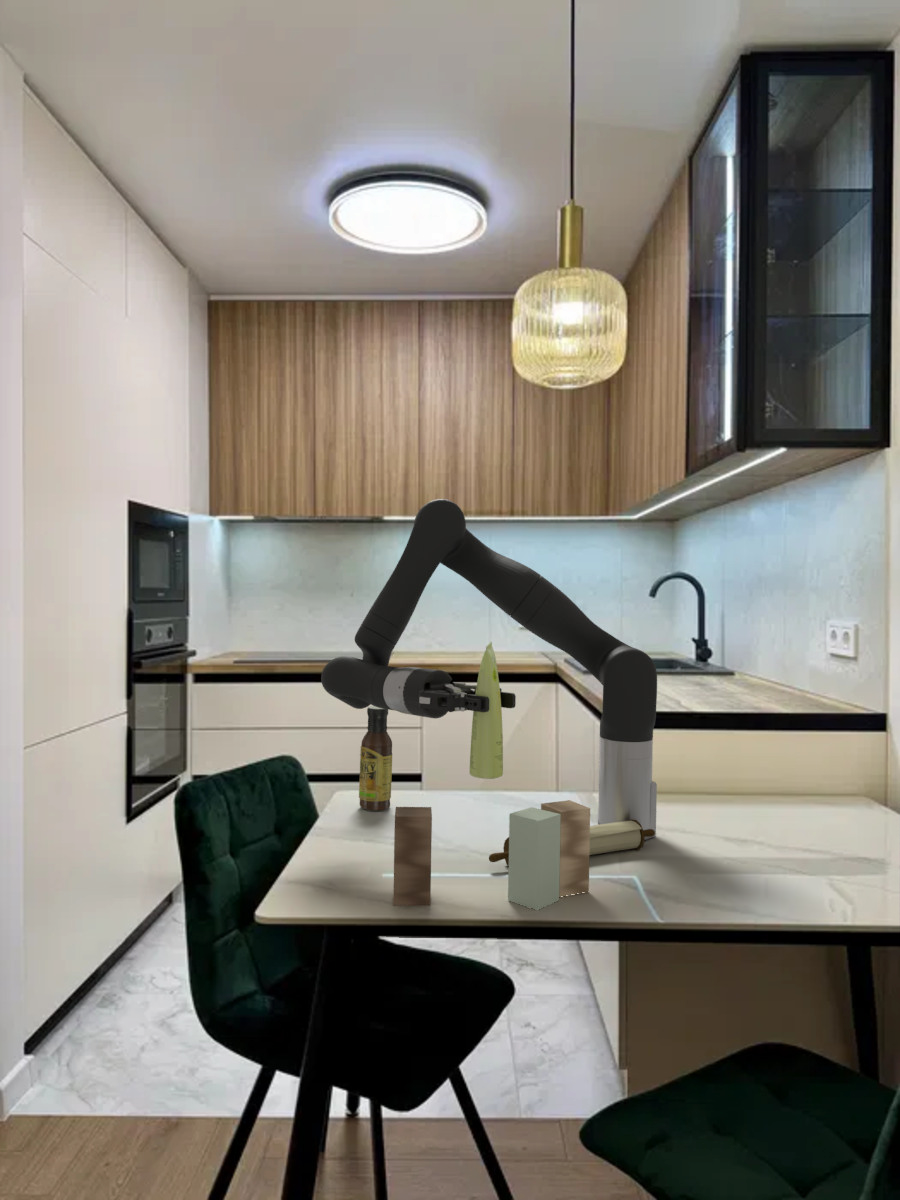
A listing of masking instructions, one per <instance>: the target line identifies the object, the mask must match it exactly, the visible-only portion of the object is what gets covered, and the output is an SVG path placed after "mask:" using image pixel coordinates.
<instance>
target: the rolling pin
mask: <svg viewBox="0 0 900 1200" xmlns="http://www.w3.org/2000/svg"><path fill="white" fill-rule="evenodd" d="M654 835H655V831H654V830H653V829H647V830H643V828H642V826H641V824H640V823H639V822H638V821H637V820H629V821H623V822H615V823H608V824H600V825H598V824H594V825H590V850H589V856H594V855H598V854H604V853H605V854H606V853H611V852H617V851H624V850H630V849H634V850H636V851H638V850H641V849H642V848H643V847H644V843H645V841H646V840H645V838H644V837H651V838H653V837H652V836H654ZM502 850H503V852H494V853H490V854H489V857H488V860H489V862H490V863H496V862H500V861H502V860H505V864H506V866H507V867H508V866H509V836H508V837H507V838H506V839H505V840H504V843H503V849H502Z"/></svg>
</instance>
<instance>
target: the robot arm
mask: <svg viewBox="0 0 900 1200" xmlns="http://www.w3.org/2000/svg"><path fill="white" fill-rule="evenodd" d="M466 523H467V522H466V518H465V514H464V512H463V510H462V509H461V507H460V506H459V505H458V504H457V503H455V502H454V501H451V500H449V499H445V498H437V499H432V500H430V501H428V502H427V503H425V504H424V505H422V507H421V508H419V510H418V512H417V514H416V515H415V518H414V522H413V527H412V529H411V532H410V536H409V538H408V541H407V543H406V545H405V548H404V550H403V552H402V554H401V556H400V558H399V560H398V561H397V562H398V563H396V566H395V567H394V570H393V571H392V573H391V574H390V576H389V578H388V580H387V581H386V583H385V585H383V587H382V589H381V590H380V592H379V594H378V596H377V598H376V599H375V600H374V602H373V604H372V605H371V606H370V608H369V610H368V612H367V614H366V616H365V617H364V619H363V621H362V622H361V624H360V626H359V628H358V629H357V631H356V633H355V636H354V642H355V645H356V646H357V647H358V648H359V649H360V650H361V652H362V659H361V658H357V657H353V656H347V655H344V656H343V655H342V656H337V657H335V658H333V659H332V660H330V661H328V662H327V663H326V665H325V666H324V667H323V669H322V671H321V677H320V681H321V686H322V688H323V689H324V691H325V692H327V693H328V694H329V695H330V696H332V697H334V698H336V699H337V700H339V701H341V702H343V703H344V704H345V705H348V706H350V707H351V708H353V709H356V710H362V709H366V708H368V707H369V706H376V707H378V708H383V709H388V711H389V710H390V711H395V712H398V713H401V714H404V715H410V716H411V715H412V716H416V717H417V716H418V717H422V718H423V717H424V718H428V719H434V720H435V719H440V718H442V717H444V716H446V715H447V714H448V713H454V712H465V711H472V712H473V711H477V712H488V711H489V698H488V697H487V696H479V695H475V694H476V687H477V684H467V683H465V682H454V681H453V678H452V677H451V675H449V673H447V672H446V671H444V670H442V669H440V670H439V669H434V668H433V669H431V668H423V667H412V666H406V667H405V666H404V667H398V666H389V663H390V660H391V654H392V652H393V651H394V649H395V647H396V646H397V643H398V642H399V640H400V639H401V636H402V635H403V634H404V631H405V630H406V628H407V626H408V624H409V622H410V620H411V618H412V616H413V614H414V611H415V610H416V608H417V606H418V604H419V601H420V599H421V596H422V595H423V593H424V590H425V589H426V587H427V584H428V583H429V581H430V579H431V577H432V576H433V574H434V573H435V571H436V570H437V568H438V566H439V565H440V564H441V565H443V566H445V567H446V568H448V569H450V570H451V571H453V572H454V573H456V574H457V575H459V576H460V577H461V578H463V579H465V580H466V581H468V582H469V583H470V584H471V585H472V586H474V588H475V589H477V591H479V592H480V593H481V594H482V595H483V596H485V597H486V598H487V599H489V600H490V601H491V602H492V603H493V604H495V605H496V606H497V607H498V608H499V609H500V610H502V611H503V612H504V614H506V615H507V616H509V617H510V618H511V619H513V620H514V621H515V622H517V623H518V624H519V625H521V626H522V627H523V628H525V629H526V630H527V631H529V632H530V633H532V634H534V635H535V636H537V637H538V638H540V639H541V640H543V641H545V642H547V643H548V644H550V645H551V646H554V647H555V648H557V649H558V650H560V651H563V652H564V653H566V654H567V655H569V656H570V657H571V658H573V659H574V660H575V661H576V662H578V663H579V664H580V666H583V668H585V669H586V670H587V672H589V673H590V675H592V676H593V677H594V678H595V679H596V680H597V681H598V682H599V683H600V684H601V685H602V710H601V718H600V722H599V745H598V746H599V753H598V755H599V756H598V757H599V758H598V759H599V762H598V763H599V765H598V766H599V767H598V804H597V805H598V806H597V807H598V808H597V812H598V813H597V814H598V815H597V817H598V818H597V825H600V824H608V823H615V822H623V821H629V820H637V821H638V822H639V823H640V824H641V826H642V828H643V830H647V829H653V830H654V831H655V835H654V836H652V837H644V838H645V840H644V841H647V840H649V839H651V838H656V836H657V805H658V804H657V802H658V800H657V799H658V797H657V796H658V790H657V789H658V786H657V785H658V783H656V781H653V755H654V754H653V750H654V749H653V748H654V747H653V745H654V740H653V739H654V729H655V728H654V727H655V725H656V720H657V702H658V701H657V699H658V698H657V697H658V672H657V666H656V664H655V662H654V661H653V659H652V658H651V656H650V655H648V654H647V653H646V652H644V651H643V650H641V649H638V648H636V647H633V646H631V645H628V644H627V643H625V642H624V641H621V640H620V639H619V638H616V637H615V636H613V635H612V634H610V633H609V632H608V631H606V630H604V629H602V628H601V627H600V626H598V625H597V624H596V623H594V622H593V621H592V620H591V619H590V618H589V617H588V616H587V615H586V614H585V613H584V612H583V610H581V608H580V607H579V606H578V605H577V604H576V603H575V602H574V601H573V600H571V598H569V597H568V596H567V595H566V594H565V593H564V592H563V591H562V590H561V589H560V588H558V587H557V586H556V585H554V584H553V583H551V581H549V580H548V579H546V578H545V577H544V576H543V575H541V574H540V573H539V572H537V571H535V570H534V569H532V568H530V567H528V566H527V565H525V564H523V563H521V562H519V561H516V560H515V559H511V558H510V557H507V556H505V555H503V554H500V553H498V552H497V551H496V550H495V551H494V550H493V549H491V548H490V547H488V546H487V545H486V544H484V543H483V542H482V541H481V540H479V539H478V538H477V537H476V536H475V535H474V534H473V533H472V532H470V530H468V529H467V524H466ZM502 690H503V689H502V688H500V696H501V708H503V709H514V708H516V704H517V703H516V694H515V692H506V691H502Z"/></svg>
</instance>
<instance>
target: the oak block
mask: <svg viewBox="0 0 900 1200" xmlns="http://www.w3.org/2000/svg"><path fill="white" fill-rule="evenodd" d="M540 809H541V810H545V811H550V812H554V813H558V814H561V822H560V876H559V897H561V896H566V895H571V894H577V893H582V892H588V891H589V892H590V890H589V889H590V855H589V850H590V826H591V807H588V806H585V805H583V804H580V803H578V802H575V801H573V800H570V799H569V800H568V799H567V800H560V801H553V802H544V803H543V802H542V803H541V804H540Z"/></svg>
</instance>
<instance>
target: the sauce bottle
mask: <svg viewBox="0 0 900 1200" xmlns="http://www.w3.org/2000/svg"><path fill="white" fill-rule="evenodd" d="M366 713H367V714H366V715H367V732H366V733H365V735H364V736H363V738H362V740H361V746H360V754H359V756H360V758H359V785H358V788H359V789H358V799H359V806H360V808H361V809H362V810H364V811H365V810H366V811H370V812H383V811H386V810H389V809H390V807H391V798H392V774H393V773H392V771H393V740H392V737H390V735H389V733H388V715H389V709H383V708H378V707H376V706H373V705H369V706H368V707H367V709H366Z"/></svg>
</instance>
